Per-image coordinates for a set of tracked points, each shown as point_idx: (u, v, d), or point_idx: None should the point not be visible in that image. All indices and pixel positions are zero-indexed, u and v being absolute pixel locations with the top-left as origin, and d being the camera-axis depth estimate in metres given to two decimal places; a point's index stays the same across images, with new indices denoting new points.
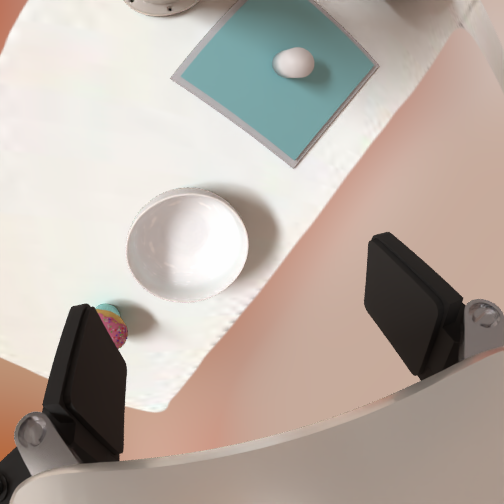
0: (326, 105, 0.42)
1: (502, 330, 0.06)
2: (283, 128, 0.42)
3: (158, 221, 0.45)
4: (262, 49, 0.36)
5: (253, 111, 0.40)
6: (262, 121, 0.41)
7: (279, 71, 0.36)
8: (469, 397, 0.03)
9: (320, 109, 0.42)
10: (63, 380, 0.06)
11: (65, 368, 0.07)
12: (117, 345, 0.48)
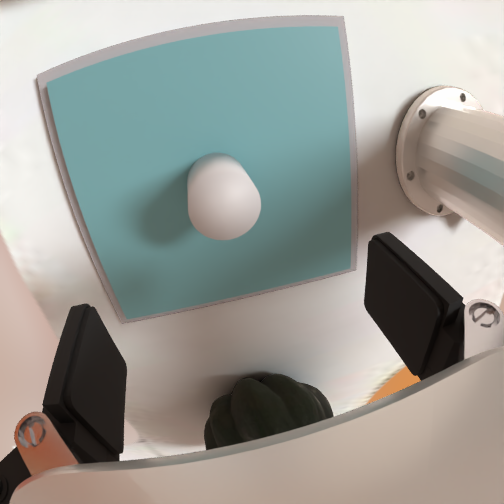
0: (99, 201, 0.21)
1: (502, 330, 0.06)
2: (111, 96, 0.17)
3: None
4: (271, 163, 0.22)
5: (183, 66, 0.17)
6: (153, 68, 0.17)
7: (222, 159, 0.19)
8: (469, 397, 0.03)
9: (99, 186, 0.20)
10: (63, 380, 0.06)
11: (65, 368, 0.07)
12: None
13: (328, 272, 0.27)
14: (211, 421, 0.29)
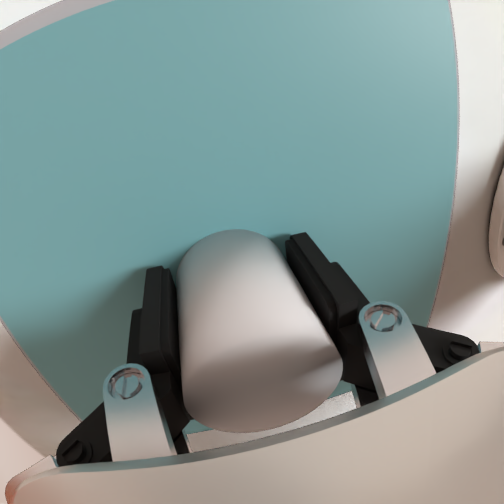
0: (28, 311, 0.10)
1: (409, 328, 0.07)
2: (16, 120, 0.07)
3: None
4: (333, 243, 0.12)
5: (158, 45, 0.07)
6: (94, 51, 0.07)
7: (250, 262, 0.09)
8: (469, 397, 0.03)
9: (22, 288, 0.10)
10: (159, 329, 0.07)
11: (157, 319, 0.08)
12: None
13: None
14: None
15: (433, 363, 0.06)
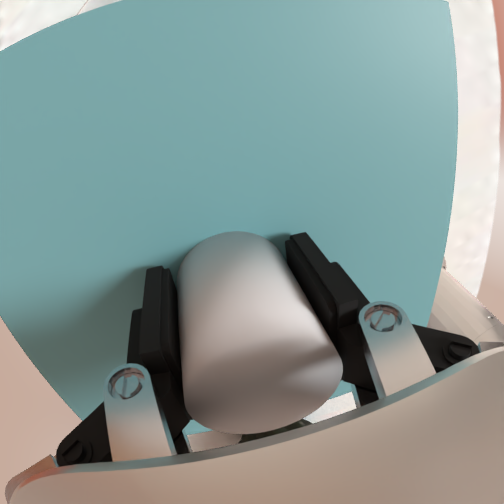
0: (29, 313, 0.10)
1: (409, 327, 0.07)
2: (16, 122, 0.07)
3: None
4: (333, 245, 0.12)
5: (159, 47, 0.07)
6: (94, 53, 0.07)
7: (250, 264, 0.09)
8: (469, 397, 0.03)
9: (22, 290, 0.10)
10: (159, 329, 0.07)
11: (157, 319, 0.08)
12: None
13: None
14: None
15: (433, 363, 0.06)
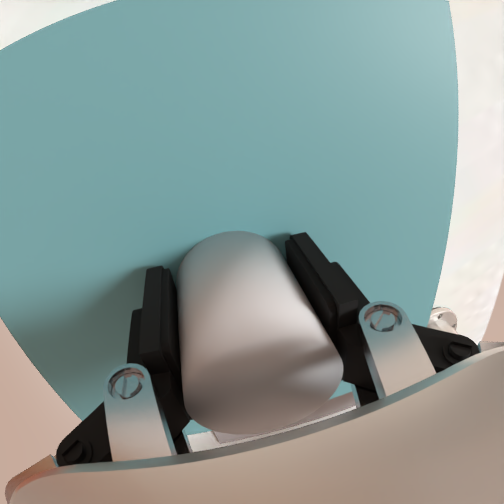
0: (28, 313, 0.10)
1: (409, 327, 0.07)
2: (15, 122, 0.07)
3: None
4: (333, 244, 0.12)
5: (158, 46, 0.07)
6: (93, 52, 0.07)
7: (250, 264, 0.09)
8: (469, 397, 0.03)
9: (22, 290, 0.10)
10: (159, 329, 0.07)
11: (157, 319, 0.08)
12: None
13: None
14: None
15: (433, 363, 0.06)
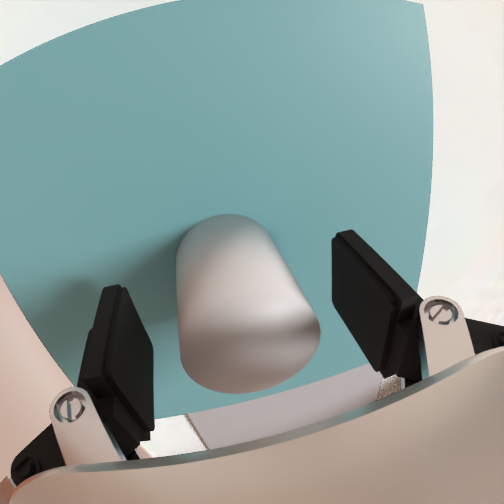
0: (40, 292, 0.12)
1: (462, 325, 0.06)
2: (34, 118, 0.09)
3: None
4: (317, 228, 0.13)
5: (160, 53, 0.09)
6: (104, 59, 0.08)
7: (239, 239, 0.10)
8: (469, 397, 0.03)
9: (35, 270, 0.11)
10: (103, 354, 0.07)
11: (103, 343, 0.07)
12: None
13: None
14: None
15: (483, 347, 0.06)
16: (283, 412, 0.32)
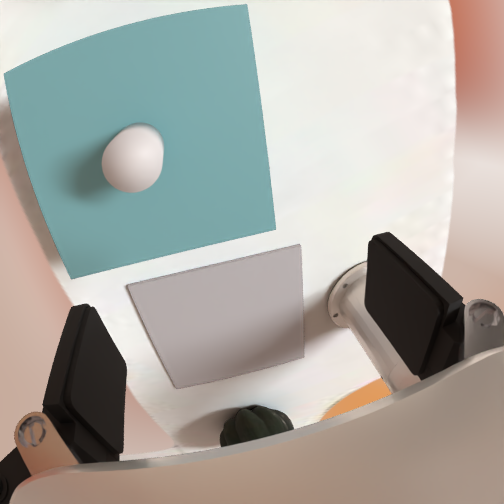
0: (44, 170, 0.22)
1: (502, 330, 0.06)
2: (53, 81, 0.18)
3: None
4: (186, 129, 0.23)
5: (109, 52, 0.19)
6: (85, 55, 0.18)
7: (136, 126, 0.20)
8: (469, 397, 0.03)
9: (44, 157, 0.21)
10: (63, 380, 0.06)
11: (65, 368, 0.07)
12: None
13: (253, 233, 0.29)
14: (225, 434, 0.52)
15: None
16: (216, 318, 0.43)
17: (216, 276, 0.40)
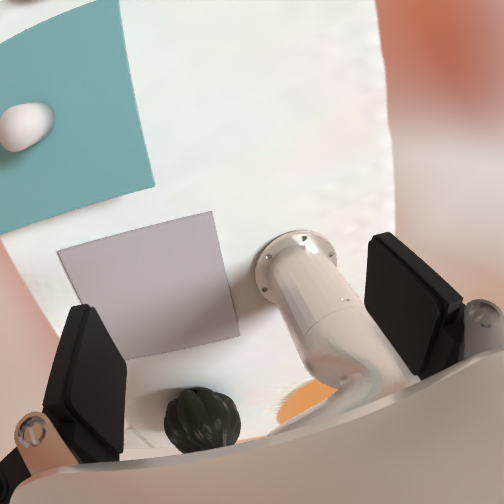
0: None
1: (502, 330, 0.06)
2: None
3: None
4: (70, 102, 0.24)
5: (18, 50, 0.19)
6: (3, 54, 0.19)
7: None
8: (469, 397, 0.03)
9: None
10: (63, 380, 0.06)
11: (65, 368, 0.07)
12: None
13: (133, 190, 0.30)
14: (166, 413, 0.52)
15: None
16: (139, 286, 0.43)
17: (132, 242, 0.40)
